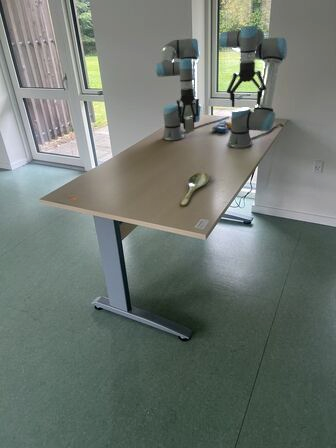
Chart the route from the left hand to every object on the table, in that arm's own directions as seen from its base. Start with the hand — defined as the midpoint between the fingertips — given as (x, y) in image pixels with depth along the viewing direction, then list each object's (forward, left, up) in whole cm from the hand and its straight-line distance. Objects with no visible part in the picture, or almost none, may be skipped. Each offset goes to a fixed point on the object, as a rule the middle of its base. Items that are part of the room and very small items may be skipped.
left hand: (188, 128), depth 207 cm
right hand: (-16, +34, +16) cm, 40 cm away
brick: (0, 0, -1) cm, 1 cm away
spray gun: (-50, -29, -17) cm, 60 cm away
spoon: (+27, +46, -17) cm, 56 cm away
